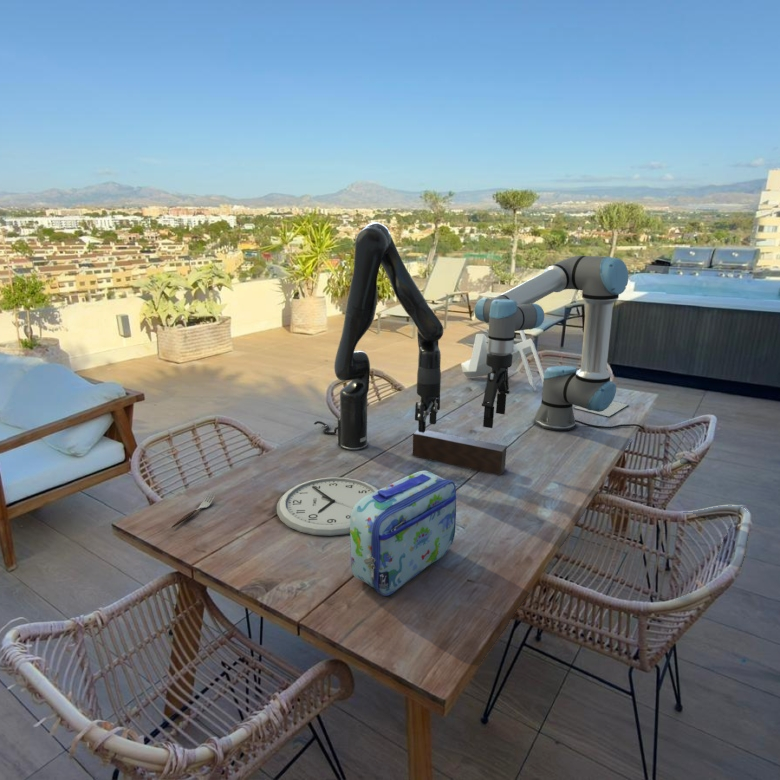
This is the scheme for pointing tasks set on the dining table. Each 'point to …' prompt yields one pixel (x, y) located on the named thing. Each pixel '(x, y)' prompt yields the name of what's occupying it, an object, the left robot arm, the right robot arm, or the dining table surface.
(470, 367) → the white plastic object
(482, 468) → the walnut beam
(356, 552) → the lunch box
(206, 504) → the fork
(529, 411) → the dining table surface
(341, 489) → the wall clock
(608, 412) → the invitation card
